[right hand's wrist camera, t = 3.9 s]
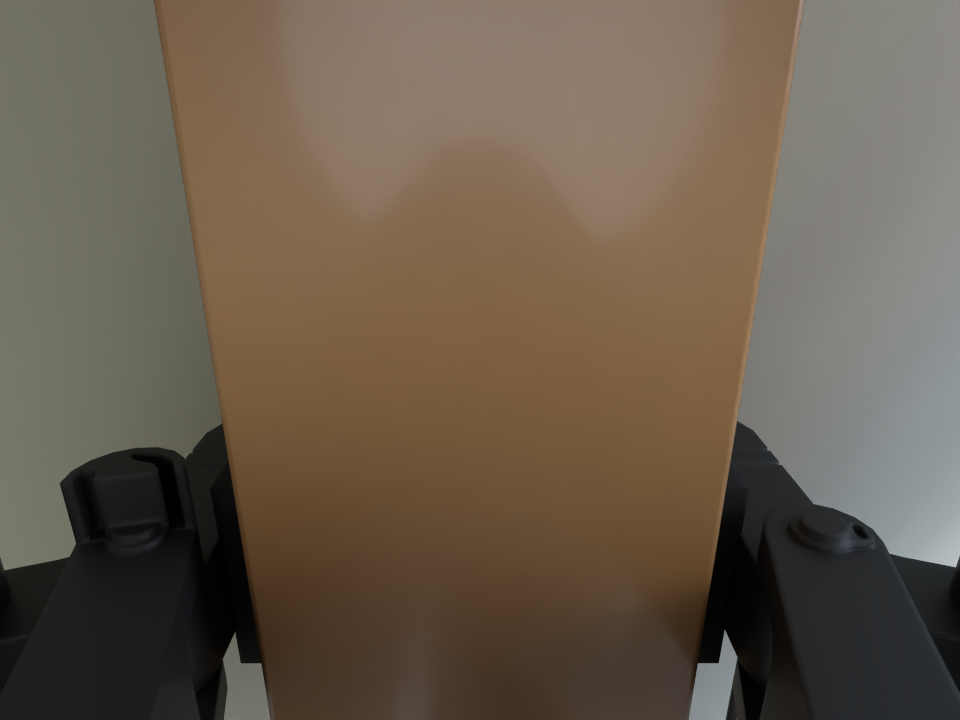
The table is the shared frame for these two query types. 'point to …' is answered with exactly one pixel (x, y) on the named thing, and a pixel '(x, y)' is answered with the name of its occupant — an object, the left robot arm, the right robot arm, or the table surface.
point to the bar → (479, 333)
